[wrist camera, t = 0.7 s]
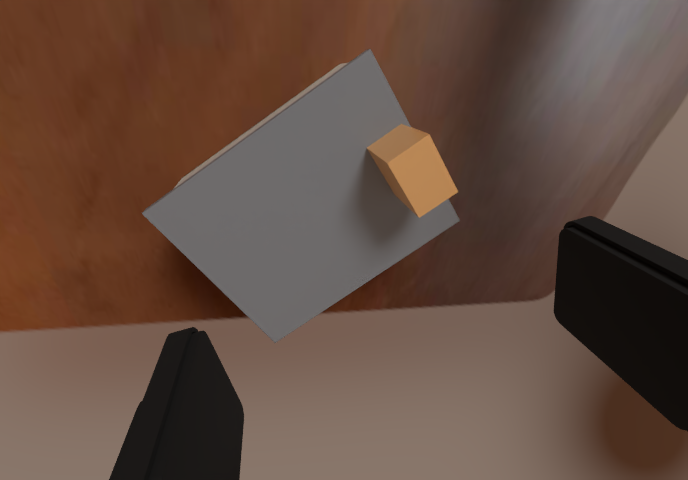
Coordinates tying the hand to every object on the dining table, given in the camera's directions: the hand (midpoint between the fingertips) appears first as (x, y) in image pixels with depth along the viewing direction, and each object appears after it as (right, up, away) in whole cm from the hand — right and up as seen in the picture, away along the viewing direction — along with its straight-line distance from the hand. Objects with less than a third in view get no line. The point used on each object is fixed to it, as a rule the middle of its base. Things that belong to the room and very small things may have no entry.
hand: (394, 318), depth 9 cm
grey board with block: (-4, +5, +20) cm, 21 cm away
